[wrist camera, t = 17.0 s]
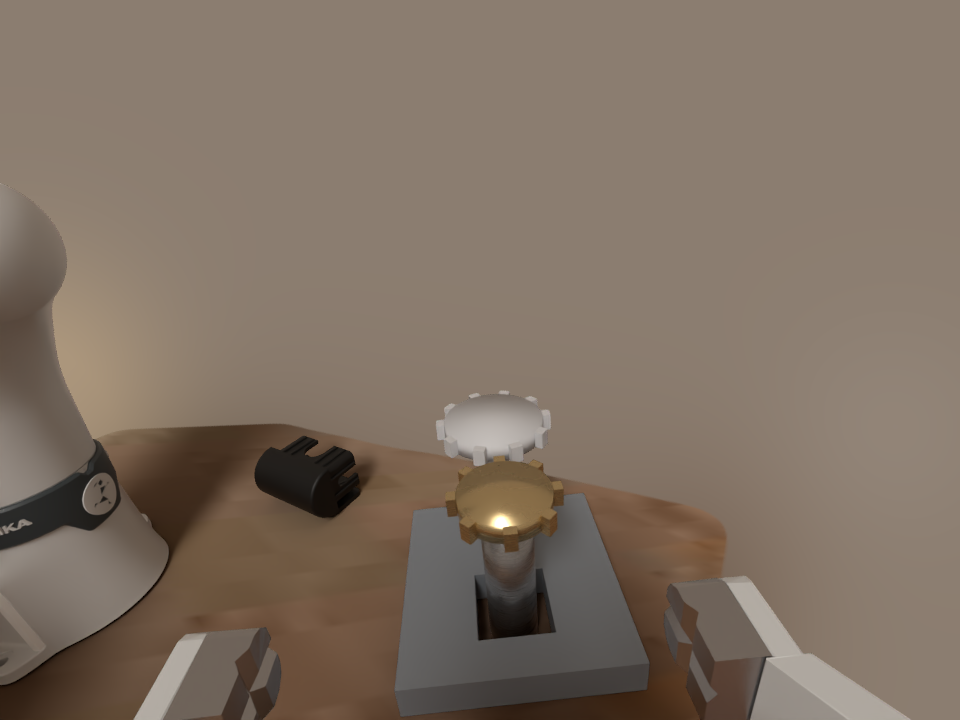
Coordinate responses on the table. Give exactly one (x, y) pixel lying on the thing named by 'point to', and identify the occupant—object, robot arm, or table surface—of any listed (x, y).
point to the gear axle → (507, 534)
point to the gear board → (461, 581)
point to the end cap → (308, 477)
